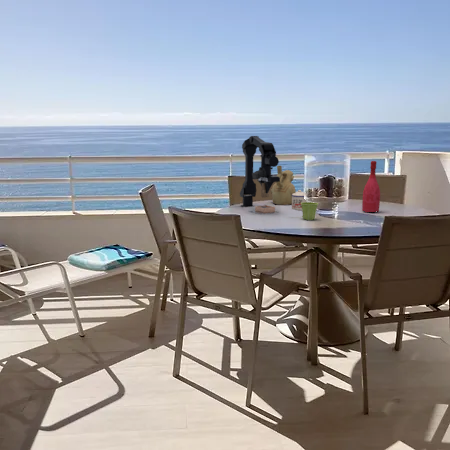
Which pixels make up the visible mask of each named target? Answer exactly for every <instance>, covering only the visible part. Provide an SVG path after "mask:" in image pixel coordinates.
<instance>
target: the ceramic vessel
mask: <svg viewBox="0 0 450 450" xmlns="http://www.w3.org/2000/svg"><path fill="white" fill-rule="evenodd" d="M282 167H283V166H282V165H277V166H276V169H277V174H276V176H278V177H279V178H280V182H274V183H273V184H272V186H271V188H270V193H271V194H272V195H271V197H272V199H271V200H272V203H273V204H274V205H278V206H279V205H282V206H289V205H292V194H294V193H296V192H297V191H296V186H295V185H294V184H293V183H292V182H293V181H294V172H293V171H292V170H289V169H287V170H284V171H282V169H283V168H282Z"/></svg>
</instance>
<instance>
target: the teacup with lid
mask: <svg viewBox="0 0 450 450" xmlns="http://www.w3.org/2000/svg"><path fill="white" fill-rule="evenodd" d="M304 194H305V192H303V191H302V190H301V189H299V190H297V191H296V193H294V194H292V204H291V210H295V211H302V206H301V203H302V202H307V199H306V200H305V199H304Z"/></svg>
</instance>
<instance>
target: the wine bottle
mask: <svg viewBox="0 0 450 450" xmlns="http://www.w3.org/2000/svg"><path fill="white" fill-rule="evenodd" d="M377 163H378V162H377V160H371V161H370V168H369V169H370V175H369V178H368V179H367V181H366V184H365V185H364V189H363V191H362V205H361V207H362V208H361V211H362V212H363V211H365V212H364V213H366V212H376V211H378V212H379V211H380V203H381V202H380V201H381V189H380V185H379V183H378V180H377V178H376V177H377V176H376V169H377Z"/></svg>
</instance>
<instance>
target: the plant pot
mask: <svg viewBox="0 0 450 450" xmlns="http://www.w3.org/2000/svg"><path fill="white" fill-rule="evenodd" d="M318 205H319V203H318V202H310V201H309V202H308V201H306V202H302V203H301V206H302V210H301V211H302V220H306V221H312V220H313V221H315V219H316V213H317V209H318Z"/></svg>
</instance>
